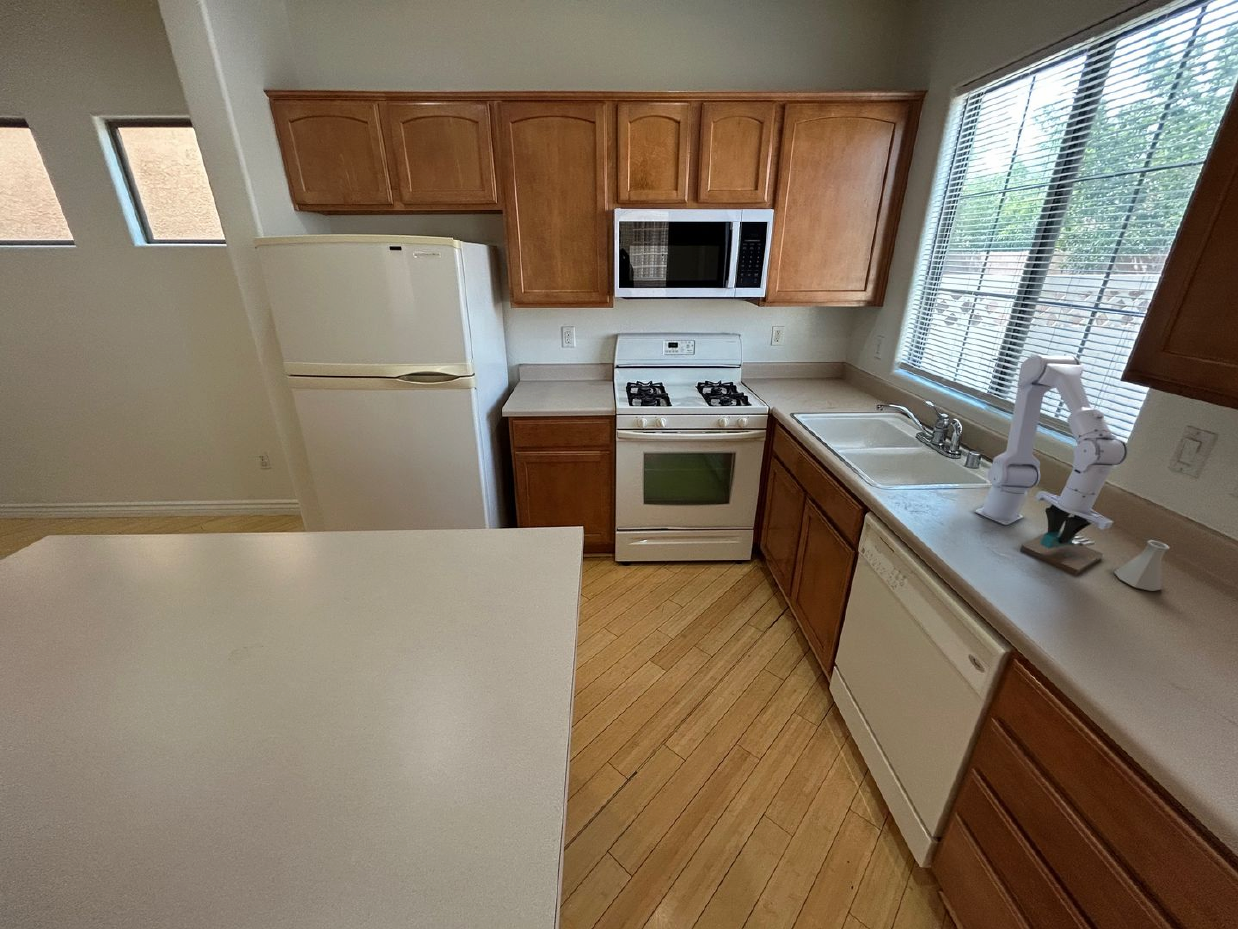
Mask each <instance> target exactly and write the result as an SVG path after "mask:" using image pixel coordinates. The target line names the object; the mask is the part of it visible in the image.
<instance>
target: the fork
mask: <svg viewBox="0 0 1238 929" xmlns="http://www.w3.org/2000/svg"><path fill="white" fill-rule="evenodd" d="M1062 532H1063V530H1060V531H1057V532H1050V533H1047V532H1045V533H1043V534H1044V536H1043V538H1042V540H1041V542H1040V544H1041V545H1043V546H1045V547H1047V548H1054V547H1061V546H1068V545H1071V546H1079V545H1080V546H1082V547H1083V546H1085V547H1088V546H1095V544H1096V541H1094V540H1091V539H1090V538H1088V537H1085V536H1084V535H1080V533H1079V532H1078V533H1077V534H1076V535H1074V536H1073V537H1072V538H1071V539H1070V541H1069V542H1068V543H1064V544H1061V543H1059V538H1060V536H1061V534H1062Z"/></svg>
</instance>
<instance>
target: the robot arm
mask: <svg viewBox="0 0 1238 929" xmlns="http://www.w3.org/2000/svg"><path fill="white" fill-rule="evenodd" d="M1084 370H1085V368H1084V367H1083V365H1082V362H1081V360H1080V358H1079V357H1077V356H1076V355H1069V356H1067V355H1066V356H1063V355H1044V354H1043V355H1041V354H1032V355H1030V356H1029V357H1028V358H1027V359H1025V360H1024V361H1023V362H1022V363H1021V364H1020V369H1019V374H1018V380H1017V390H1016V395H1015V401H1014V406H1013V411H1012V417H1011V423H1010V428H1009V434H1008V439H1007V443H1006V444H1007V445H1006V450H1005V451H1004V452H1003V453H1000V454H999V455H997V456H995V457H994V458H993V459H992V463H991V466H990V468H989V469H988V472H987V478H988V481H989V484H990V485H991V486H990V488H989V490H988V493H987V496H986V498H985V501H984V504H983V506H982V507H980V508H977V509H975V510H974V513H976V514H978V515H980V516H983V517H985V518H988V519H990V520H992V521H995V522H997V523H1000V524H1001V525H1004V526H1007V525H1010V524H1012V523H1014V522H1016V521H1019V520H1021V519H1022V518H1024V516H1023V514H1021V511H1022V510H1023V507H1024V506H1025V502H1026V499H1027V497H1028V492H1030V489H1033V488H1035V487H1037V486H1038V485H1039V483H1040V481H1041V472H1040V467H1041V462H1040V461H1039V459H1038V458H1037V457H1036V456H1034V454H1033V452H1034V447H1035V441H1036V436H1037V431H1038V427H1039V421H1040V416H1041V410H1042V406H1043V400H1044V395H1045V394H1046V393H1047V392H1049V391H1051V390H1052V389H1053V390H1054V389H1056V391H1057V392H1058V395H1059V396H1060V397H1061V399H1062V401H1063V403H1064V405H1065V406H1066V408H1067V409H1068V412H1069V413H1070V414H1069V416H1068V417H1067V419H1066V422H1067V424H1068V426H1069V429H1070V431H1071V433H1072V435H1073V437H1074V440H1075V441H1076V443H1077V445H1075V446H1074V448H1073V456H1074V459H1073V462H1072V471H1071V472H1070V475H1069V477H1068V478H1067V480H1066V483H1065V484H1064V486H1063V490H1062V491H1061V494H1060V495H1055V494H1052V493H1051V492H1047V491H1045V490H1043V491H1038V492H1037V493H1036V496H1035V498H1034V499H1035V500H1036V501H1039V502H1040V501H1042V502H1044V503H1046V504H1048V505H1050V506H1049V507H1046V508H1045V510H1044V512H1045V515H1046V519H1047V532H1048V533H1050V532H1057V531H1061V530H1062V527H1063V530H1062V531H1063V532H1062V534H1061V536H1060V538H1059V543H1061V544H1064V543H1068V542H1069V541H1070V539H1071V538H1072V537H1073V536H1074V535H1076V534H1077V533H1078V534H1079V533H1080V532H1081V531H1082V530H1084V529H1085V528H1087V527H1089V526H1090V525H1093V526H1096V527H1097V528H1098V529H1100V530H1102V531H1105V530H1110V529H1111V527H1112V525H1113V523H1114V521H1113V520H1111V519H1108V518H1107V517H1105V516H1103V515H1102V514H1100V513H1099V512H1098V511H1095V510H1093V509H1092V508H1093V507H1094V504H1095V503H1096V500H1097V499H1098V497H1099V495H1100V492H1101V491H1102V489H1103V487H1104V485H1105V483H1106V481H1107V479H1108V477H1109V475H1110V473H1111V471H1112V469H1113V468H1114V466H1118V465H1120V464H1122V463H1124V462H1125V460H1126V459H1127V457H1128V454H1129V450H1128V446H1127V443H1126V442H1125V441H1124V440H1123V439H1121V438H1118V437H1117V436H1116V435H1115V434H1112V432H1111V430H1110V427H1109V426H1108V424H1107V421H1106V419H1105V415H1104V414H1103V412H1102V411H1101V410H1099V409H1097V408H1093V407H1092V406H1091V405H1090V404H1091V403H1090V401H1089V398H1088V396H1087V395H1088V394H1087V393H1086V389H1085V387H1084V384H1083V382H1082V378H1081V377H1082V375H1083V372H1084ZM1070 515H1072V516H1070ZM1063 525H1064V526H1063Z"/></svg>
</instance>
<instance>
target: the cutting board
mask: <svg viewBox="0 0 1238 929" xmlns="http://www.w3.org/2000/svg"><path fill="white" fill-rule="evenodd" d="M1046 533H1048V531H1047V532H1046ZM1044 534H1045V533H1043V534H1041V535H1039V536H1037V537H1035V538H1034V539H1031V540H1029V541H1027V542H1025V543H1024V544H1022V545H1021V546H1020V549H1019V551H1021V552H1022V553H1025V554H1027V555H1029V556H1031V557H1034V558H1037V559H1039V560H1041V561H1043V562H1044V563H1047V564H1050V565H1051V566H1054V567H1056V568H1058V569H1060V570H1062V571H1065V572H1067V573H1070V574H1071V575H1074V576H1077V575H1078V574H1080V573H1081V572H1083V571H1084V570H1086V569H1087V568H1089V567H1090V566H1092V565H1093V564H1095V563H1097V562H1098V561H1100V560H1102V557H1103V555H1104V553H1103V552H1100V551H1098V550H1095V549H1093V548H1090V547H1088V546H1083V547H1082V546H1080V545H1079V546H1071V545H1068V546H1061V547H1054V548H1047V547H1045V546H1043V545H1041V544H1040V542H1041V540H1042V538H1043V536H1044Z"/></svg>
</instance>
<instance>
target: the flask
mask: <svg viewBox="0 0 1238 929" xmlns="http://www.w3.org/2000/svg"><path fill="white" fill-rule="evenodd" d="M1146 544H1147V545H1146V547H1145V548H1144V549H1143V550H1142V551H1141V552H1140V554H1138V555H1136V556H1135V557H1133V559H1131V560H1130V561H1128V562H1127V563H1125V564H1123V565H1122V566H1121V567H1118V569H1116V570H1114V571H1113V573H1114V574H1115V575H1116V577H1117V578H1118V579H1119V580H1121V581H1122V582H1124V583H1125V584H1128V585H1130V586H1132V587H1133V588H1136V589H1141V590H1146V591H1150V592H1153V591H1160V590H1162V560H1163V557H1164V555H1165V553H1166V551H1169V550H1170V548H1171V547H1170V546H1168V545H1167V544H1166V543H1164V542H1161V541H1158V540H1154V539H1153V540H1152V539H1149V540H1147V541H1146Z"/></svg>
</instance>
